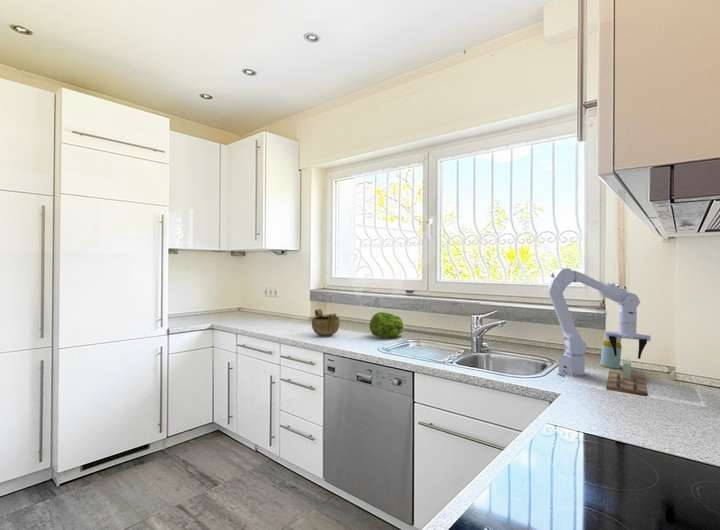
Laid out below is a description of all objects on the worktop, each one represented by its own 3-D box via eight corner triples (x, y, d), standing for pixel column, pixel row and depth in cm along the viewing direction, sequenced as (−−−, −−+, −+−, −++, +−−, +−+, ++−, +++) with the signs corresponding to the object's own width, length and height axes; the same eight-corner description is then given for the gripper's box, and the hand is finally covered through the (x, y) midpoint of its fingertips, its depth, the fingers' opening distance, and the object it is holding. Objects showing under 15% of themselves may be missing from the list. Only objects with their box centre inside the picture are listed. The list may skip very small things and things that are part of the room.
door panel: (630, 379, 147) (630, 364, 147) (622, 378, 149) (623, 363, 148) (630, 373, 155) (630, 358, 155) (623, 372, 157) (623, 357, 157)
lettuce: (408, 343, 226) (412, 318, 230) (379, 335, 216) (384, 309, 221) (392, 342, 240) (396, 318, 244) (364, 334, 230) (369, 309, 234)
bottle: (596, 366, 167) (599, 332, 167) (607, 366, 170) (610, 332, 170) (611, 371, 161) (615, 335, 160) (623, 370, 163) (626, 335, 163)
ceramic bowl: (305, 333, 239) (305, 309, 239) (329, 331, 248) (329, 308, 248) (321, 340, 220) (321, 314, 220) (346, 337, 229) (347, 312, 229)
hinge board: (647, 396, 132) (647, 386, 132) (606, 389, 139) (606, 380, 139) (645, 377, 153) (645, 369, 153) (609, 372, 160) (609, 364, 160)
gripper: (605, 322, 153) (604, 356, 153) (651, 326, 144) (650, 361, 144) (606, 319, 158) (605, 352, 159) (650, 323, 150) (649, 357, 150)
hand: (627, 356), depth 152 cm, fingers open, 7 cm apart
